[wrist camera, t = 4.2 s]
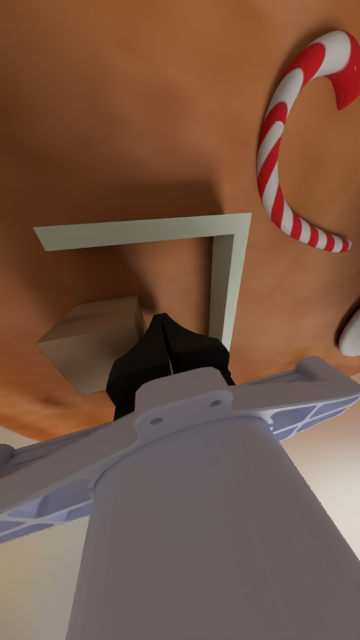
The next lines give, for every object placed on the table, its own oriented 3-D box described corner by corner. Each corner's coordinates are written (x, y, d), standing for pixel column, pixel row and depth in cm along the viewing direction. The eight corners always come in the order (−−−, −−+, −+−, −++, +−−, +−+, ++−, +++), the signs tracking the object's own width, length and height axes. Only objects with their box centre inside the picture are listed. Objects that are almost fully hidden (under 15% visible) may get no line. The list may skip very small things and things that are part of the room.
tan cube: (149, 338, 14) (151, 377, 10) (100, 348, 14) (81, 396, 10) (137, 294, 12) (133, 324, 8) (76, 305, 11) (35, 343, 7)
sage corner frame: (214, 354, 18) (225, 372, 16) (128, 375, 17) (126, 399, 14) (225, 219, 10) (251, 212, 8) (64, 231, 9) (32, 226, 6)
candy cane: (324, 278, 15) (239, 164, 8) (312, 275, 16) (228, 173, 10) (397, 202, 12) (355, -48, 6) (376, 205, 13) (321, -2, 7)
